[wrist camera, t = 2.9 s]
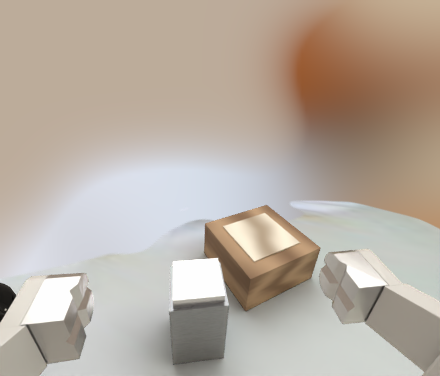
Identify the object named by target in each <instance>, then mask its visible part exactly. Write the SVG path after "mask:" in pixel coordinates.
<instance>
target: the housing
mask: <svg viewBox="0 0 440 376" xmlns="http://www.w3.org/2000/svg"><path fill="white" fill-rule="evenodd" d="M228 310H229V303H228V298H227V294H226V289H225V284H224V279H223V274H222V269H221V264H220V262H219V261H218V258H212V259H198V260H185V261H173V266H170V297H169V315H170V329H171V342H172V356H173V365H175V364H182V363H190V362H197V361H205V360H212V359H220V358H224V349H225V339H226V329H227V319H228Z"/></svg>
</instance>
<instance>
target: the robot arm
mask: <svg viewBox="0 0 440 376" xmlns="http://www.w3.org/2000/svg"><path fill="white" fill-rule="evenodd" d="M324 261H325V263H326V265H325V266H324V267H323V268H322V269H321V271H320V274H319V281H320V286H321V289H322V291H323V292H324V294H325V296H327V297H328V298H329V299H331V300H332V301H333V302H332V308H333V309H334V311H335V313H336V314H337V316H338V318H339V319H340V321H341V323H342V324H351V323H361V322H366V323H365V324H367V325H368V326H369V327H370V328H372V329H373V330H374V331H375V332H376V333H378V334H379V335H380V336H381V337H382V338H384V339H385V340H386V341H387V342H389V343H390V344H391V345H392V346H393V347H395V348H396V349H397V350H398V351H400V352H401V353H402V354H403V355H404V356H406V357H407V358H408V359H409V360H411V361H412V362H413V363H414V364H415V365H417V366H418V367H419V368H420V369H422V370H423V371H424V374H423V375H422V376H440V301H438V300H437V299H435V298H433V297H431V296H429V295H427V294H425V293H423V292H421V291H420V290H418V289H416V288H414V287H412V286H410V285H408V284H402V283H401V281H400V280H399V279H398V278H397V277H396V276H395V275H394V274H393V273H392V272H391V271H390V270H389V269H388V268H387V267H386V266H385V264H384V263H383V262H382V261H381V260H380V259H379V258H378V257H377V256H376V255H375V254H374V253H373V252H372V251H371V250H369V249H361V250H349V251H339V252H329V253H328V254H327V255H326V256H325V259H324ZM88 282H89V280H88V277H87V274H86V273H76V274H59V275H47V276H31V277H30V278H29V279H27V280H26V281H25V283H24V284H23V286H22V288H21V289H20V291H19V293H18V294H17V296H16V298H15V299H14V301H13V303H12V304H11V306H10V307H9V309H8V311H7V312H6V314H5V316H4V317H3V319H2V321H1V322H0V376H39V375H40V374H41V373H42V372H43V371H44V369H45V368H46V367H47V364H51V363H58V362H64V361H70V360H76V359H80V356H81V352H82V349H83V345H84V342H85V339H86V334H85V331H84V328H85V327H86V326H87V325H88V324H89V323H90V321H91V318H92V314H93V306H94V299H93V293H92V291H91V290H90V289H88V288H87V285H88Z"/></svg>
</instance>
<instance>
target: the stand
mask: <svg viewBox="0 0 440 376" xmlns="http://www.w3.org/2000/svg"><path fill="white" fill-rule="evenodd" d="M319 251H320V247H319V246H318V245H316V244H315V243H314V242H313V241H311V240H310V239H309V238H308V237H306V236H305V235H304V234H303V233H301V232H300V231H299V230H298V229H296V228H295V227H294V226H292V225H291V224H290V223H289V222H287V221H286V220H285V219H284V218H282V217H281V216H280V215H279V214H277V213H276V212H275V211H274V210H272V209H271V208H270V207H269V206H267V205H265V206H262V207H258V208H255V209H252V210H248V211H246V212H242V213H239V214H235V215H232V216H229V217H225V218H222V219H219V220H215V221H212V222H209V223H205V247H204V253H205V254H206V256H207V257H208V259H212V258H218V261H219V262H220V264H221V269H222V274H223V279H224V281H225V283H226V284H227V286H228V287H229V288H230V290H231V291H232V293H233V294H234V295H235V297H236V298H237V300H238V301H239V303H240V304H241V305H242V307H243V308H244V310H245V311H247V310H249V309H251V308H253V307H255V306H257V305H259V304H261V303H263V302H265V301H267V300H269V299H271V298H273V297H275V296H277V295H278V294H280V293H282V292H284V291H286V290H288V289H290V288H292V287H294V286H296V285H298V284H300V283H302V282H304V281H306V280H308V279H310V278H311V277H312V273H313V270H314V267H315V264H316V261H317V258H318V254H319Z"/></svg>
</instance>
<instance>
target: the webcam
mask: <svg viewBox="0 0 440 376" xmlns="http://www.w3.org/2000/svg"><path fill="white" fill-rule="evenodd" d="M15 298H16V294H15V293H14V292H13V290H12V289H11V288H10V287H9V286H7V285H5V284H2V283H0V322H1V321H2V319H3V317H4V316H5V314H6V312H7V311H8V309H9V307H10V306H11V304H12V303H13V301H14V299H15Z"/></svg>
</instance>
